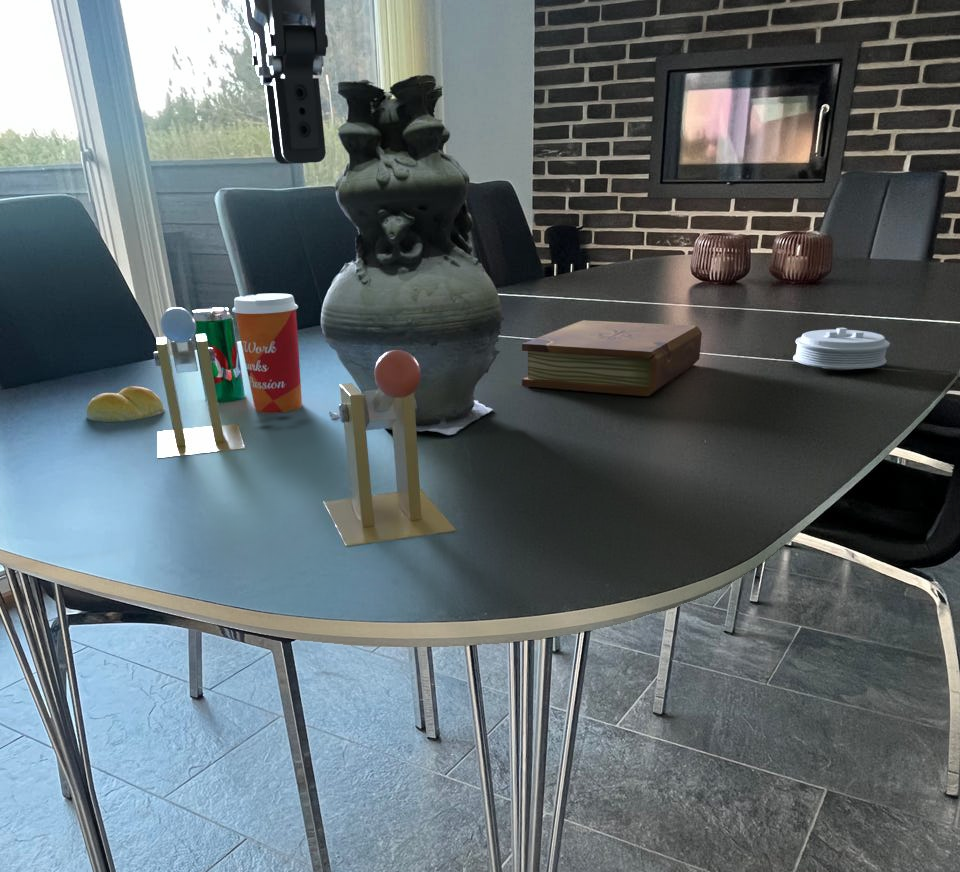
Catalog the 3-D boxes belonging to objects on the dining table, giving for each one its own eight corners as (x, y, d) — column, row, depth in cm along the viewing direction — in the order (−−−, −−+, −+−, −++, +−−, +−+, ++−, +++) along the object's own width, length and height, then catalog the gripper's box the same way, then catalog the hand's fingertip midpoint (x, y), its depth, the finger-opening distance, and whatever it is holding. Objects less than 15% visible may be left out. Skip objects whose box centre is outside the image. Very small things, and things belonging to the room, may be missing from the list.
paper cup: (236, 417, 108) (217, 298, 101) (286, 405, 113) (271, 291, 106) (273, 427, 103) (255, 303, 97) (324, 414, 108) (310, 295, 102)
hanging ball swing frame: (247, 459, 92) (229, 344, 86) (159, 469, 90) (134, 351, 84) (239, 433, 101) (222, 328, 96) (159, 442, 99) (137, 334, 93)
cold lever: (198, 334, 81) (191, 300, 81) (162, 337, 80) (156, 303, 80) (203, 374, 93) (198, 345, 92) (172, 377, 92) (167, 347, 92)
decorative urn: (298, 431, 101) (253, 77, 85) (381, 391, 119) (358, 91, 102) (464, 446, 94) (451, 63, 78) (526, 401, 112) (527, 80, 95)
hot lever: (428, 388, 59) (420, 341, 59) (382, 392, 58) (374, 345, 58) (398, 432, 70) (391, 393, 70) (359, 436, 69) (352, 396, 69)
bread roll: (79, 423, 107) (71, 390, 106) (148, 410, 113) (142, 378, 111) (105, 435, 102) (97, 401, 100) (177, 420, 107) (170, 388, 105)
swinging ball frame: (457, 543, 70) (451, 396, 64) (346, 560, 67) (330, 408, 62) (422, 501, 79) (414, 368, 73) (324, 514, 77) (308, 378, 71)
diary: (654, 398, 111) (657, 352, 109) (521, 387, 119) (521, 343, 116) (698, 365, 129) (702, 324, 127) (581, 357, 137) (582, 318, 134)
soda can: (233, 400, 116) (218, 305, 111) (253, 406, 113) (239, 309, 108) (199, 407, 113) (182, 310, 108) (219, 413, 110) (202, 313, 104)
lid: (845, 355, 133) (850, 321, 130) (904, 370, 122) (912, 334, 120) (774, 362, 130) (779, 327, 127) (829, 379, 119) (836, 341, 117)
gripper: (163, -222, 44) (220, 166, 52) (165, -371, 32) (239, 162, 40) (311, -209, 46) (344, 163, 54) (365, -344, 34) (396, 159, 42)
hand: (299, 161), depth 47 cm, fingers open, 3 cm apart
